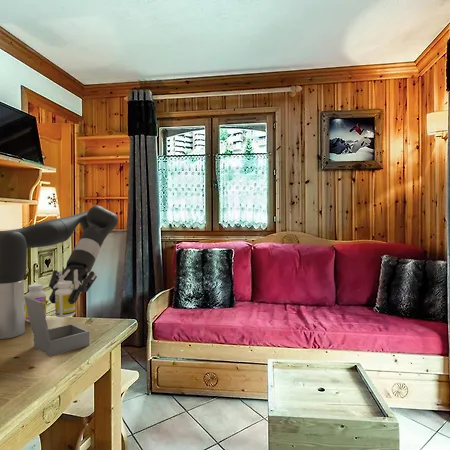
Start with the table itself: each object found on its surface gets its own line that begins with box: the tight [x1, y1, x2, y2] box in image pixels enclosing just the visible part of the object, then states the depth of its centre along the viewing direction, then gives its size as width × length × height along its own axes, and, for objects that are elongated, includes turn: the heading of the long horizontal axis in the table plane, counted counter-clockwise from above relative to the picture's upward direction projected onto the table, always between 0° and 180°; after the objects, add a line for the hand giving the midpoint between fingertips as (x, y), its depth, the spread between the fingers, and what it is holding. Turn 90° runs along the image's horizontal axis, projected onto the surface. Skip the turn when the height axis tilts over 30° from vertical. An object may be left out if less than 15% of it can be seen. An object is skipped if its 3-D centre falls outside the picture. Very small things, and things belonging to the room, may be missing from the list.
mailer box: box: [24, 295, 90, 357], centre depth 101 cm, size 11×13×15 cm
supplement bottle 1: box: [25, 283, 47, 323], centre depth 128 cm, size 7×7×13 cm
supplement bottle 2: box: [54, 281, 77, 318], centre depth 103 cm, size 5×5×10 cm
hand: (61, 302), depth 101 cm, fingers closed on supplement bottle 2, 5 cm apart
